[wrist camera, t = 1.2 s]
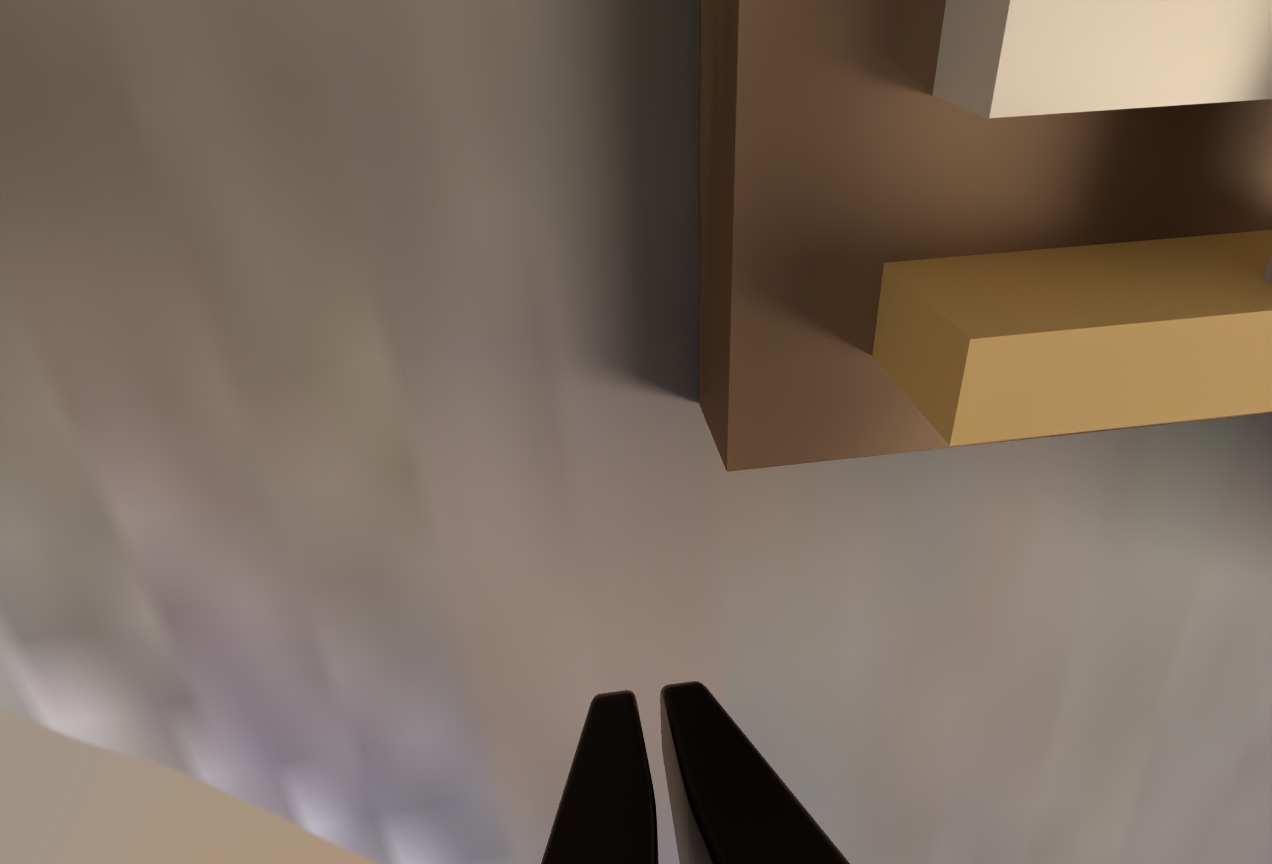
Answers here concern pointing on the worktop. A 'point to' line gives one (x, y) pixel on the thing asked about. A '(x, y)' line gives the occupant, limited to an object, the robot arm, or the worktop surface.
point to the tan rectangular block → (1081, 336)
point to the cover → (1102, 54)
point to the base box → (902, 207)
